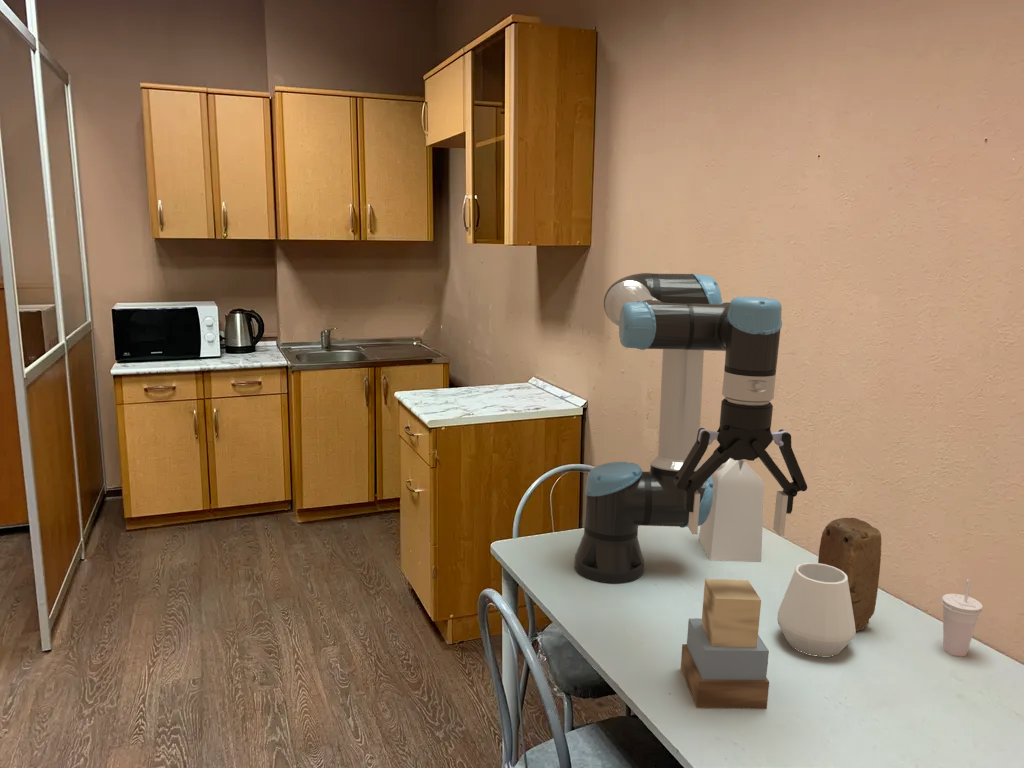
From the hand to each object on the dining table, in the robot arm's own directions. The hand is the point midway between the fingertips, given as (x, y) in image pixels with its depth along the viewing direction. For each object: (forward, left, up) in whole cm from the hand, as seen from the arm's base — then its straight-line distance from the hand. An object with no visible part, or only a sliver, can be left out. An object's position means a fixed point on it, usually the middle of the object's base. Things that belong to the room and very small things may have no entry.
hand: (735, 531), depth 122 cm
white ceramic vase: (-14, +21, -27) cm, 37 cm away
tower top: (0, 0, -22) cm, 22 cm away
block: (-23, +30, -27) cm, 46 cm away
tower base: (0, 0, -27) cm, 27 cm away
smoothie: (-12, +46, -27) cm, 55 cm away
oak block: (+1, 0, -17) cm, 17 cm away
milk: (-56, +18, -27) cm, 65 cm away
